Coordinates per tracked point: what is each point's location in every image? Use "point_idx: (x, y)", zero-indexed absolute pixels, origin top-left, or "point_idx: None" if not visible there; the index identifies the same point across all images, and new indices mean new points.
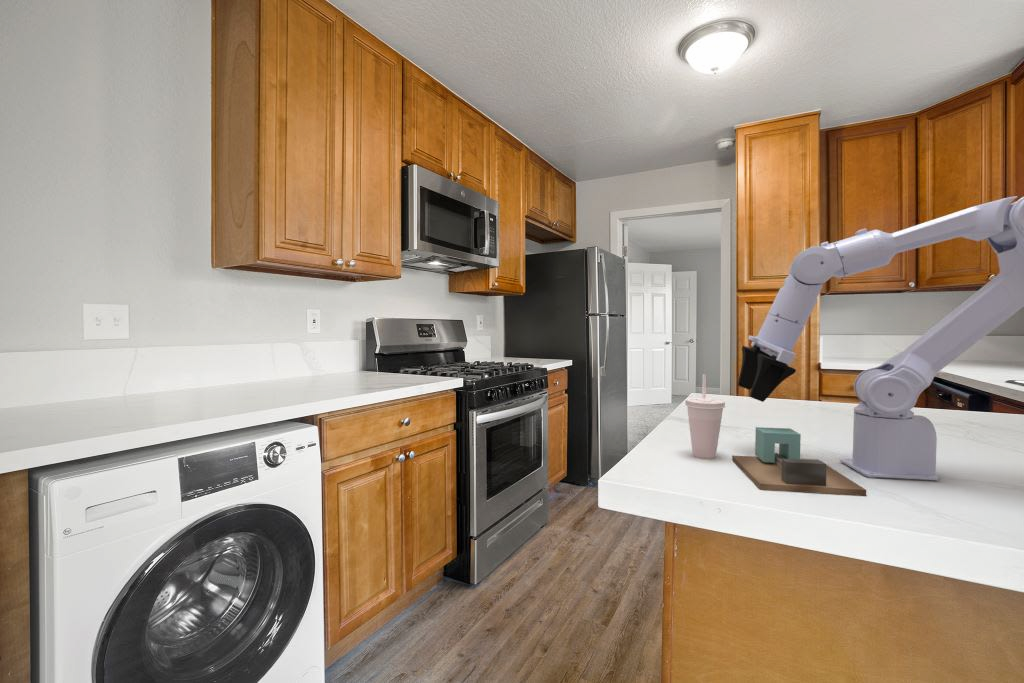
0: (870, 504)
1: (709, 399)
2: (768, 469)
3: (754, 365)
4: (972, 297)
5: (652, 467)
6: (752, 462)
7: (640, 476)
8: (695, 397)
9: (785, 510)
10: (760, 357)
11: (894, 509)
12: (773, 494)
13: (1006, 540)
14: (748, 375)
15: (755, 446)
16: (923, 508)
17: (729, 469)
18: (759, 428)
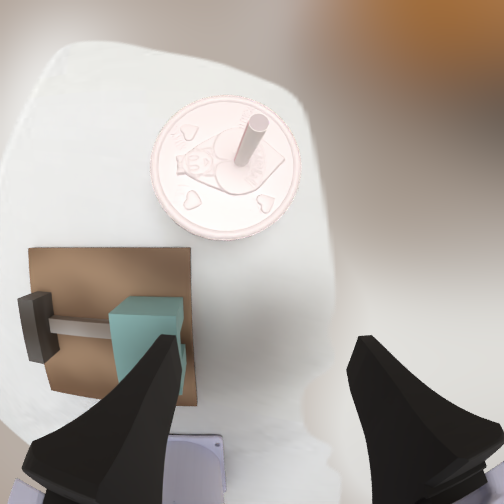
0: (29, 371)
1: (223, 178)
2: (99, 292)
3: (388, 440)
4: None
5: (123, 85)
6: (140, 277)
7: (79, 72)
8: (291, 142)
9: None
10: (40, 461)
11: (26, 386)
12: (21, 261)
13: (2, 419)
14: (372, 392)
15: (180, 302)
16: (43, 417)
17: (122, 224)
18: (160, 321)
